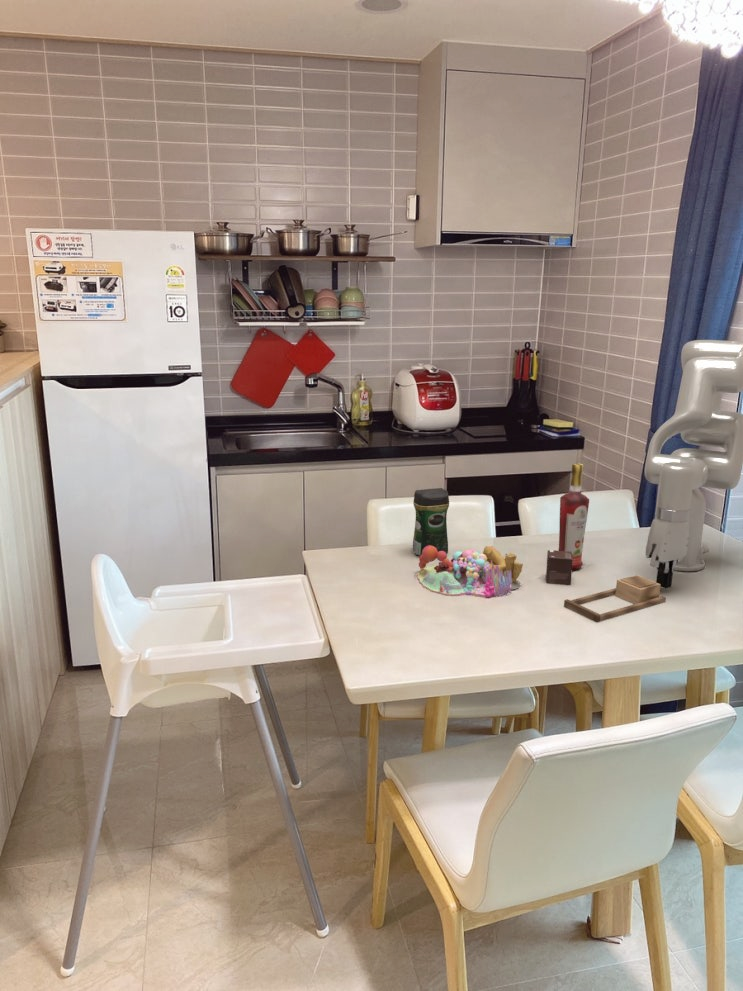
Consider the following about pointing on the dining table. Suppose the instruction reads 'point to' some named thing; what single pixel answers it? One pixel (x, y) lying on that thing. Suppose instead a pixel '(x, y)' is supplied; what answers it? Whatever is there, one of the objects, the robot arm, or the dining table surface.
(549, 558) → the box
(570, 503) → the liquor
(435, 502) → the coffee jar
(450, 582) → the pastel sphere sculpture
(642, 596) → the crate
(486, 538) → the dining table surface
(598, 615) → the bay
